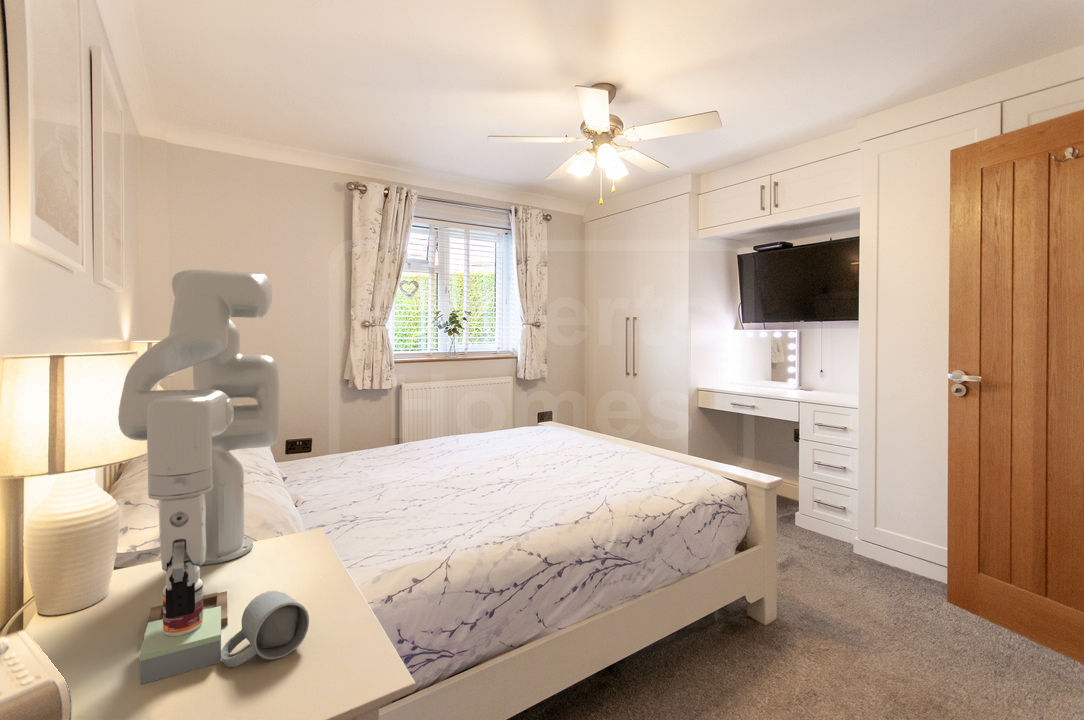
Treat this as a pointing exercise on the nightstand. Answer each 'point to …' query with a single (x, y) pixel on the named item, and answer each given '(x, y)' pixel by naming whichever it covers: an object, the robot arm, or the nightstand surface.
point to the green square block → (180, 648)
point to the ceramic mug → (269, 628)
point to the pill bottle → (188, 621)
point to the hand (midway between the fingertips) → (183, 599)
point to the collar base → (207, 600)
